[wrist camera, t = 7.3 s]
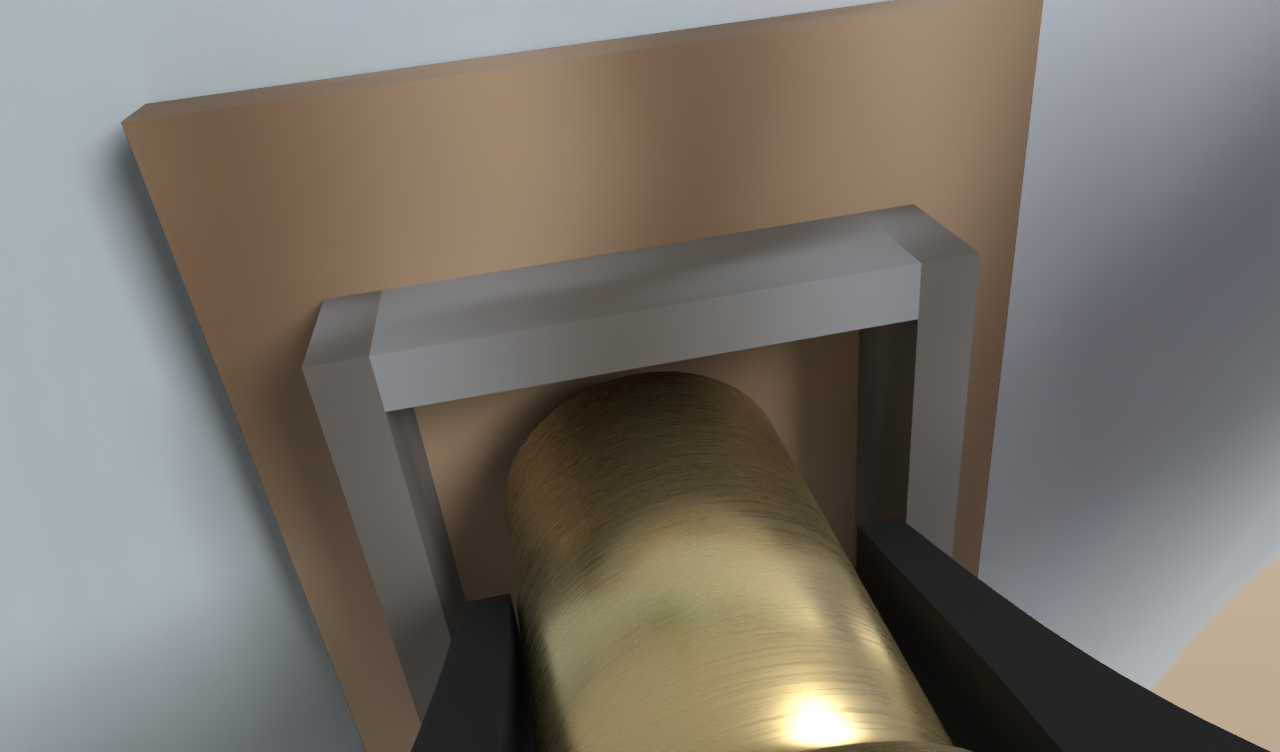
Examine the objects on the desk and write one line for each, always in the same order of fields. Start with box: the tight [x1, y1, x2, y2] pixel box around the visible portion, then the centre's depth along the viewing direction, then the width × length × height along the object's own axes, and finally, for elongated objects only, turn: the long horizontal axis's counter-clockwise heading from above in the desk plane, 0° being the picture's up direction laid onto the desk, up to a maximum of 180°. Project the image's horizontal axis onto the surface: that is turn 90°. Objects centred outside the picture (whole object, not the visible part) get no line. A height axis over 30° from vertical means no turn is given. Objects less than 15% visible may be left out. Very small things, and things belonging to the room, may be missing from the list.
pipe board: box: [121, 0, 1043, 752], centre depth 15 cm, size 12×16×3 cm
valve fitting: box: [504, 371, 972, 752], centre depth 11 cm, size 5×5×8 cm
